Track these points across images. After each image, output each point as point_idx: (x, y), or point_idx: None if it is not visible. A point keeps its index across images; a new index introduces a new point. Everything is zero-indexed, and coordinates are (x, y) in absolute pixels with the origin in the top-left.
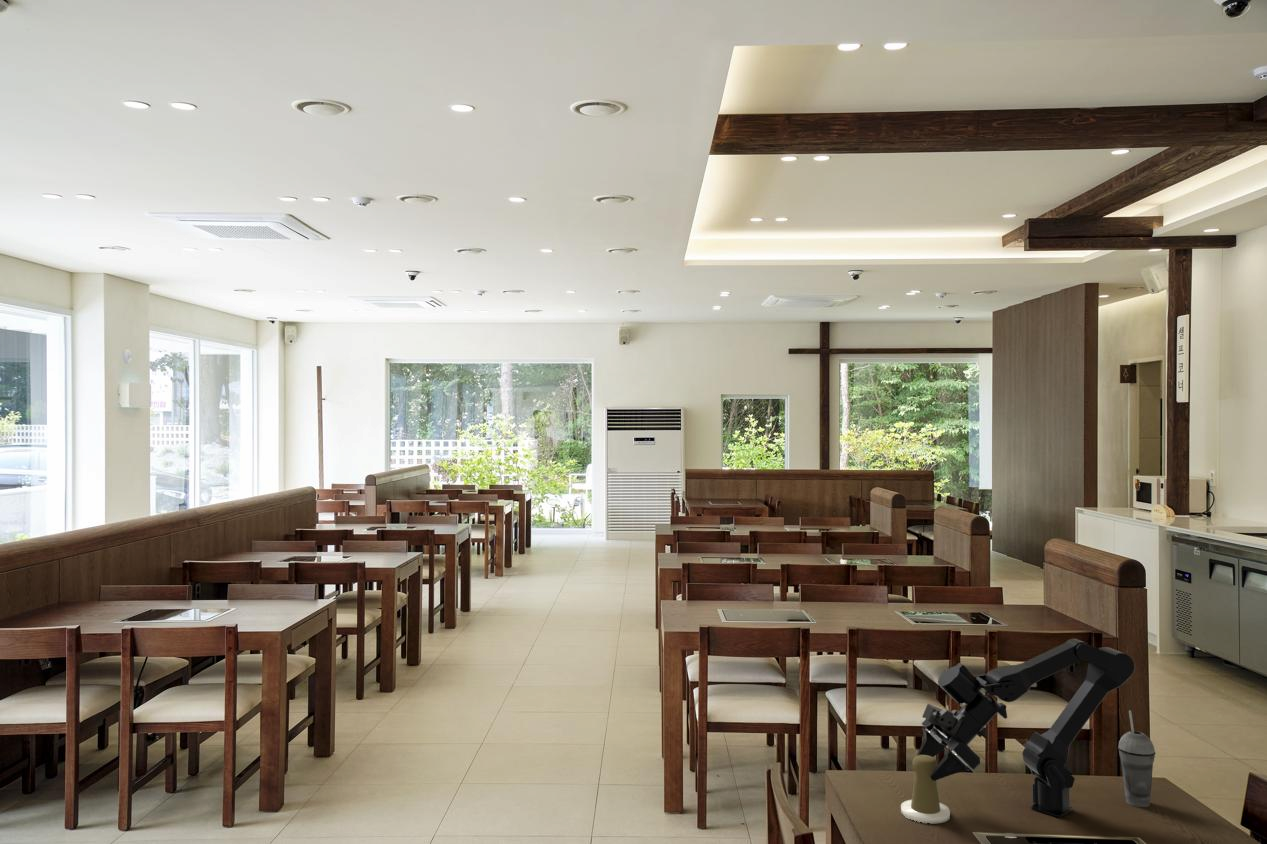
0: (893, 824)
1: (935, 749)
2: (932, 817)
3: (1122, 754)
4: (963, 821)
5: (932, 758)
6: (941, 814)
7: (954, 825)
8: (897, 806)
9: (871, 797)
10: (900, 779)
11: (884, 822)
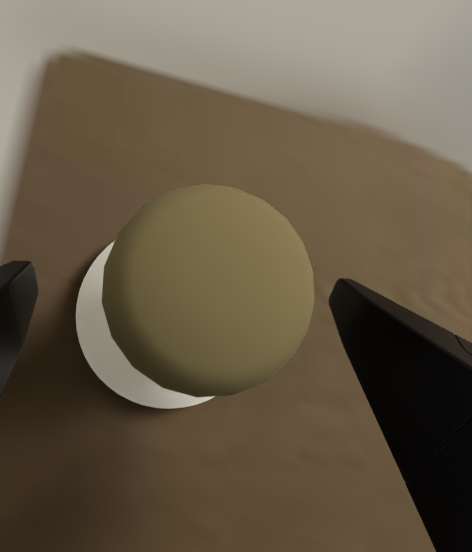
0: (101, 164)
1: (436, 473)
2: (82, 303)
3: None
4: (85, 441)
5: (187, 345)
6: (107, 353)
7: (51, 387)
8: None
9: (320, 193)
10: None
11: (123, 144)
